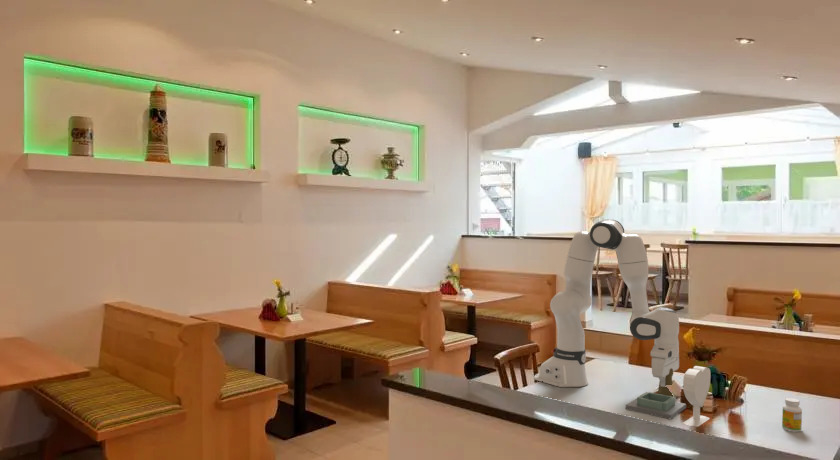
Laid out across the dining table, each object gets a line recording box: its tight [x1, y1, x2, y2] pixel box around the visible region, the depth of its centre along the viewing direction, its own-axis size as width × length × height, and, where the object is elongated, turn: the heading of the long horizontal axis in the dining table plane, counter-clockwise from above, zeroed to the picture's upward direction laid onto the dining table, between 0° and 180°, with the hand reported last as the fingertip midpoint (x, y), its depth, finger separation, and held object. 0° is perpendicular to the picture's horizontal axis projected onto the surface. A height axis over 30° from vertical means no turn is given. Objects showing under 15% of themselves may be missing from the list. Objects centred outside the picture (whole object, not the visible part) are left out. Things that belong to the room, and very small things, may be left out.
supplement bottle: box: [781, 397, 803, 432], centre depth 197 cm, size 5×5×10 cm
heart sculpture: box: [682, 365, 712, 428], centre depth 204 cm, size 16×5×18 cm, turn 136°
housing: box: [625, 391, 687, 420], centre depth 217 cm, size 16×16×4 cm
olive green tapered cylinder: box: [657, 368, 674, 397], centre depth 233 cm, size 6×6×11 cm
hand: (665, 384), depth 233 cm, fingers closed on olive green tapered cylinder, 5 cm apart
